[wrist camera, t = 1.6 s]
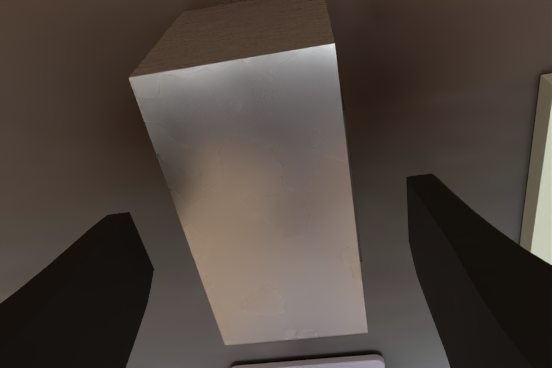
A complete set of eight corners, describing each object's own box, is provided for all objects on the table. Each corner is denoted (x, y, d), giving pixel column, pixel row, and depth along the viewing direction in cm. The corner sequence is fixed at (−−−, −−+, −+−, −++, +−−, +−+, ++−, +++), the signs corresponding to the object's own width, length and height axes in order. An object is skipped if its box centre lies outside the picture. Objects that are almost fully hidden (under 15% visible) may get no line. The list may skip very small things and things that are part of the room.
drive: (352, 214, 20) (371, 332, 15) (243, 227, 20) (225, 345, 15) (325, -16, 15) (339, 42, 10) (183, 10, 15) (128, 77, 10)
